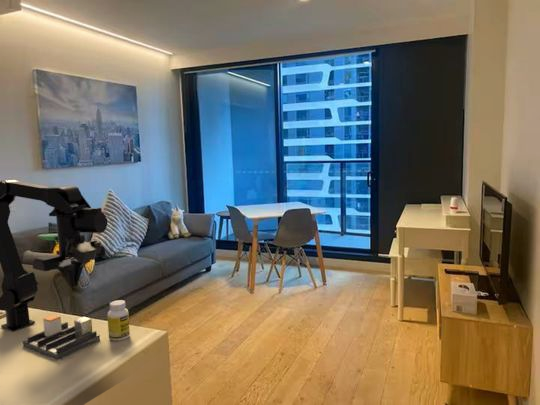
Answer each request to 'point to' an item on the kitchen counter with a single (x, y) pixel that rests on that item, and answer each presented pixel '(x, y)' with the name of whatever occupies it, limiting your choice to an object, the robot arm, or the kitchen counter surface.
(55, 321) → the block
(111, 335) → the supplement bottle
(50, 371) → the kitchen counter surface
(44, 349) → the breaker panel
